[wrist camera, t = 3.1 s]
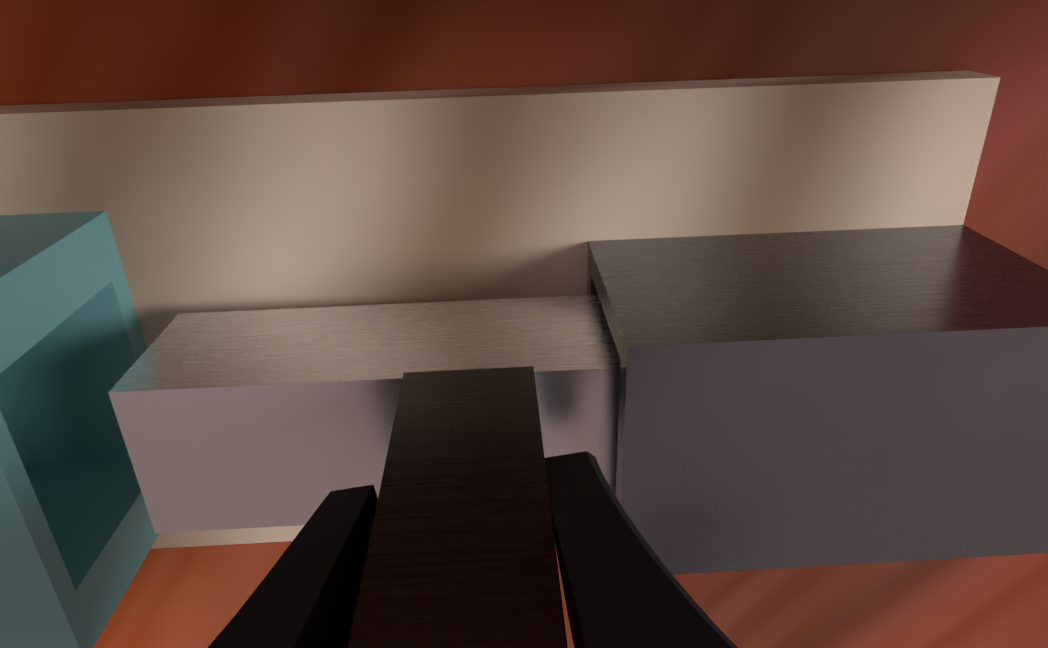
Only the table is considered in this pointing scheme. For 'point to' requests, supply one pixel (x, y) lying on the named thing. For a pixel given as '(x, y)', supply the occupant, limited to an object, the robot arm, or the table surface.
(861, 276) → the outer sleeve
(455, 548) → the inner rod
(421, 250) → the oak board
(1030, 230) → the table surface
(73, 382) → the bracket socket
